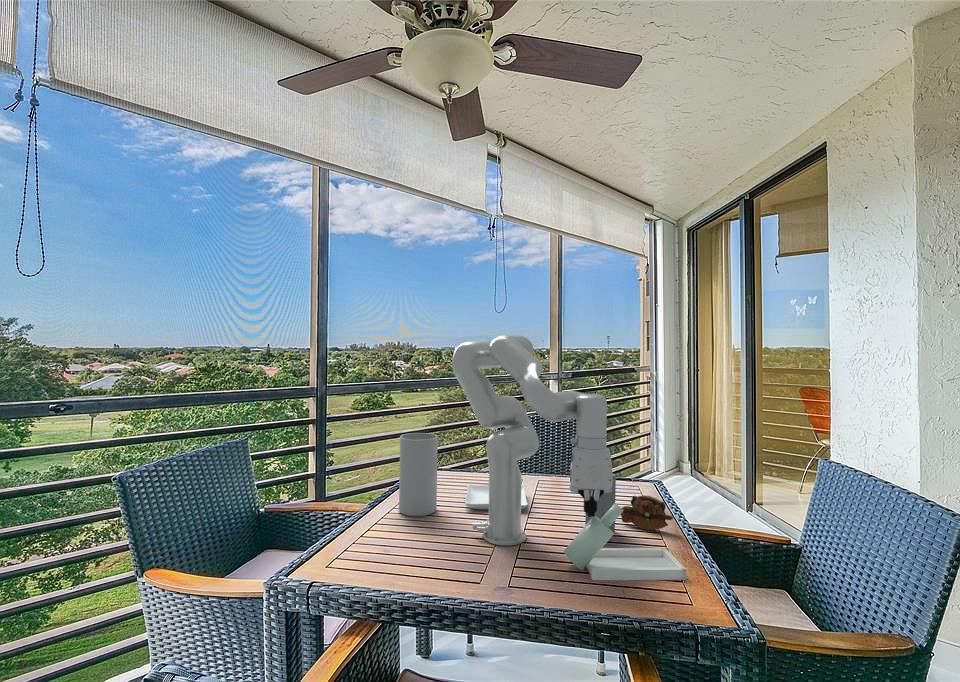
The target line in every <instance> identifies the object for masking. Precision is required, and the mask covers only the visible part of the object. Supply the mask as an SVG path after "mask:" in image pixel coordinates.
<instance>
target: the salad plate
mask: <svg viewBox="0 0 960 682" xmlns="http://www.w3.org/2000/svg"><path fill="white" fill-rule="evenodd" d="M525 490H526V489H525V488H524V487H523V486H522V487H521V510H524V509H526V508H527V507H528V504H529V503H528V500H527V496H526V491H525ZM464 504H465V506H467V507H468V508H471V509H475V510H483V511H486V510H487V511H489V484H479V485H477V484H475V485H474V484H467V491H466V497H465V501H464Z"/></svg>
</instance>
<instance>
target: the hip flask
mask: <svg viewBox="0 0 960 682" xmlns="http://www.w3.org/2000/svg"><path fill="white" fill-rule="evenodd" d="M612 475H613V485H612V491H611V492H608V493H604V494H603V495H602V496H601V497H600V498H599V500H598V501H597V512H595V516H596V517H598V518H599V519H601V518H602V517H603V516H604V515H605V514H606V512H607V511H608V510H609V509H610V508H611V507H612V505H613V504H614V503H616V489H617V488H616V486H617V484H616V482H617V475H616V473H612ZM588 491H589V497H591V494H592V490H588ZM584 513H585V515H584V516H585V520H584V523H585V524H584V526H585V525H586V524H587V523H588V522H589V521H590V520H591V518H592V516H591V517H588V516H587V514H586V512H584ZM609 528H610V529H611V530H612V532H613V533H614V534H615V533H616V520H615V521H614V523H613V524H612V525H611V526H610V527H609Z"/></svg>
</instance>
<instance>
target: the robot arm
mask: <svg viewBox="0 0 960 682" xmlns="http://www.w3.org/2000/svg"><path fill="white" fill-rule="evenodd" d="M451 360H452V361H451V362H452V363H451V365H452V366H451V367H452V369H453V374H454V376H455V378H456V380H457V382H458V384H459V385H460V387H461V388H462V390H463V392H464V393H465V396H466V398H467V400H468V402H469V405H470V407H471V409H472V411H473V414H474V416H475V417H476V420H477V422H478V424H479V425H480V426H481V427H482V428H484V429H486V430H494V429H500V430H497V431H495V432H493V433H492V434H490V435H489V437H488V439H487V440H486V445H485V447H486V450H485V451H486V456H487V463H488V485H489V510H488V518H486V521H483V522H472V530H476V532H477V533H481V532H482V538H483V540H485V541H486V542H487V543H488V544H489V543H490V544H491V545H497V546H515V545H519V544H522V543H524V542H525V541H526V539H527V533H526V532H525V531H524V530H522V523H521V521H522V509H521V487H523V486H522V481H523V480H522V472H521V470H520V466H519V465H518V461H520V460H523V459H527V458H531V457H533V456H534V455H535V454H536V453H537V451H538V449H539V446H540V441H539V436H538V433H537V430H535V427H534V425H533V423H532V422H531V419H530V417H529V415H528V414H527V412H526V410H525V407H524V406H523V403H521V402H520V401H519V400H518V399H517V398H515V397H514V396H512V395H498V394H497V392H496V391H495V389H494V387H493V384H492V383H491V381H490V380H489V378H488V377H487V376H486V375H485V374H483V372H482V371H481V370H480V369H497V368H502V369H503V370H505V371H506V372H507V374H509V376H511V377H512V378H513V379H514V380H515V381H516V382H517V383H518V384H519V387H520V388H519V389H520V391H521V395H522V397H523V399H524V401H525V402H526V404H527V405H528V406H529V408H531V409H532V410H533V411H535V413H536V414H537V415H538V416H540V417H541V418H542V419H544V420H546V421H548V422H551V423H558V422H564V421H569V420H575V419H576V421H575V422H576V425H575V427H576V428H575V429H576V430H575V432H576V433H575V434H576V435H575V437H573V438H572V437H571V438H570V439H569V441H570V444H572V445H575V446H573V449H572V455H571V460H570V461H571V462H570V468H569V488H568V490H569V491H570V492H571V493H575V494H579V495H580V496H581V498H583V512H584V513H585V512H586V514H587V516H588V517H591V516H592V517H595V512H597V501H598V500H599V498H600V497H601V496H602V495H603V494H604V493H608V492H611V491H612V485H613V475H612V474H613V465H612V456H611V451H610V448H608V447H607V419H608V418H607V415H608V414H607V413H608V412H607V411H608V408H607V407H608V405H607V398H606V397H605V396H604V395H601V394H598V393H584V392H579V391H577V390H565V391H555V392H554V391H552V390H551V389H550V388H549V387H548V386H547V385H546V384H544V383H543V381H541V379H540V376H541V374H542V371H543V364H542V362H541V360H539V359H538V358H537V357H535V355H534V345H533V342H532V341H531V340H530V339H529V338H528V337H525V336H523V335H512V334H511V335H508V334H506V335H505V334H504V335H499V336H497V337H495V338H494V339H492V341H481V340H480V341H478V340H475V341H466V342H462V343H461V344H459V345H458V346H456V348H455V350H454V352H453V355H452V359H451ZM501 428H505V429H501ZM588 490H592V494H591V497H589V491H588Z"/></svg>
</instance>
